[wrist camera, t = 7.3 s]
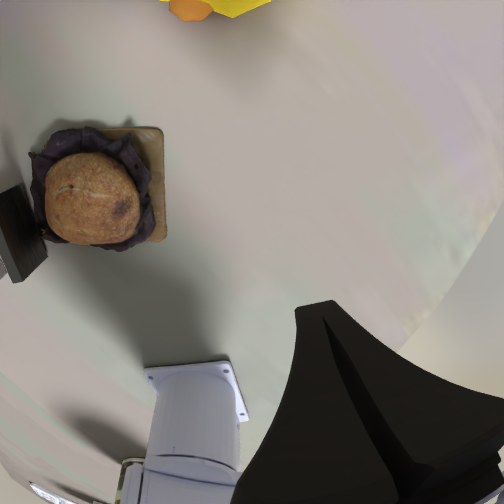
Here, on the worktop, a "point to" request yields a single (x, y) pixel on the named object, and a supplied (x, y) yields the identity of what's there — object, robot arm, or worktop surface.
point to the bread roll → (100, 187)
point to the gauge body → (2, 269)
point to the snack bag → (50, 495)
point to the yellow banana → (211, 8)
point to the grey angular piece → (19, 235)
